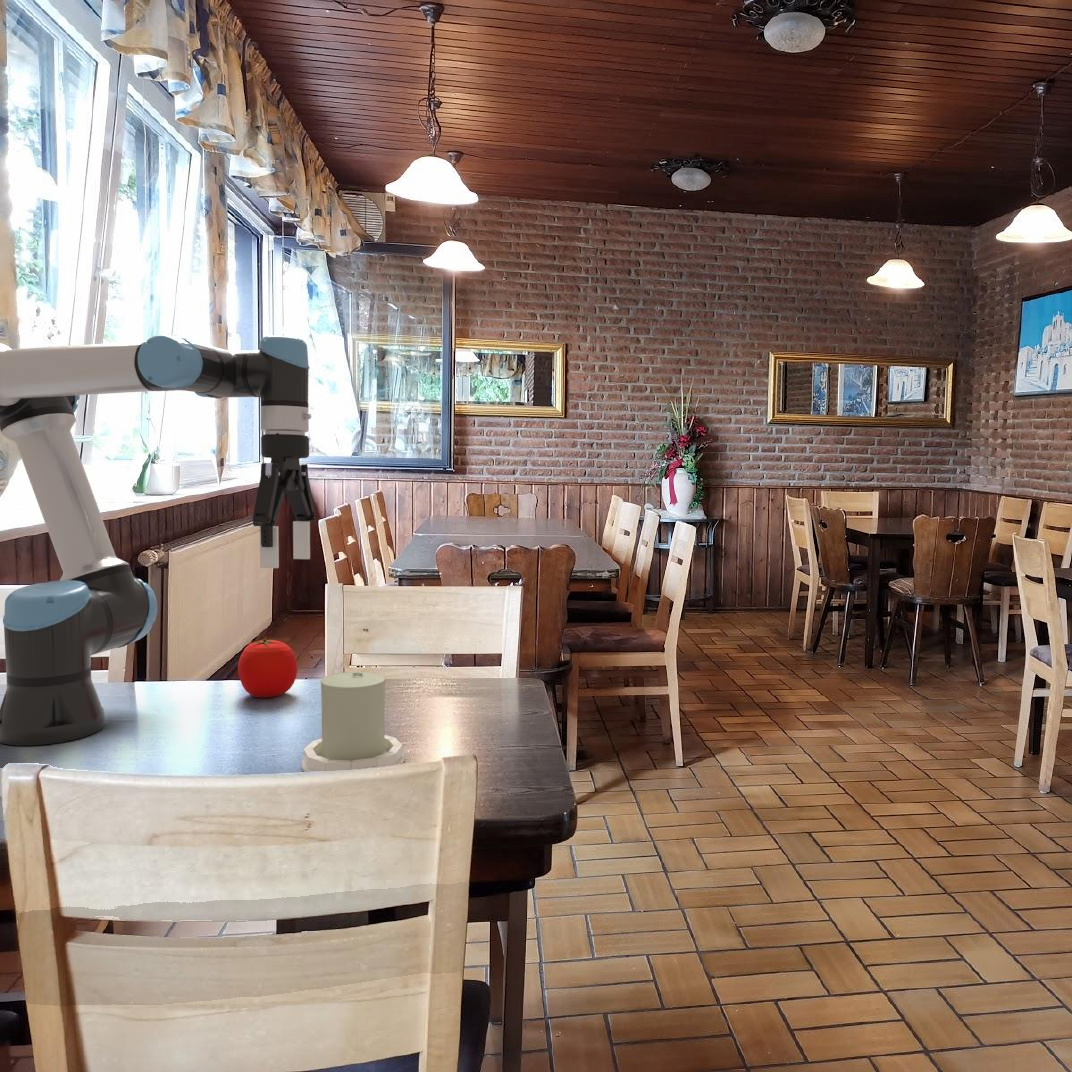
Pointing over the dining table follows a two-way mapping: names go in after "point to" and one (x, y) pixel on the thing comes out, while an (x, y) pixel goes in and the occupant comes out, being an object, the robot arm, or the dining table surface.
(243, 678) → the tomato
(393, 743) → the saucer
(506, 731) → the dining table surface
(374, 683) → the can
